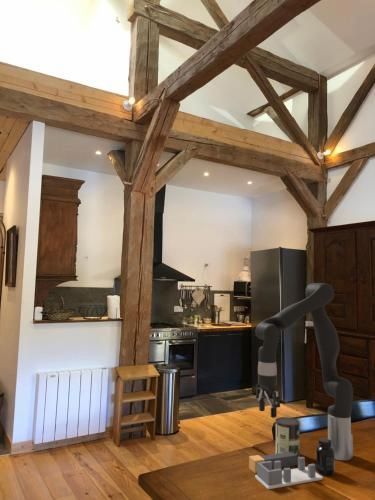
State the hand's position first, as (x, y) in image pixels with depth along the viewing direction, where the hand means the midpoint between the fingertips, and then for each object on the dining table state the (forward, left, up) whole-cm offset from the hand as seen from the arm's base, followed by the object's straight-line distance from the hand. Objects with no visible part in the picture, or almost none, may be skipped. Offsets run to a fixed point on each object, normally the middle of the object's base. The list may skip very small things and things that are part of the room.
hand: (267, 414), depth 155 cm
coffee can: (-15, -8, -21) cm, 27 cm away
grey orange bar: (-3, 0, -21) cm, 21 cm away
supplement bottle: (-20, +10, -21) cm, 31 cm away
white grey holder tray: (-3, +10, -21) cm, 23 cm away
